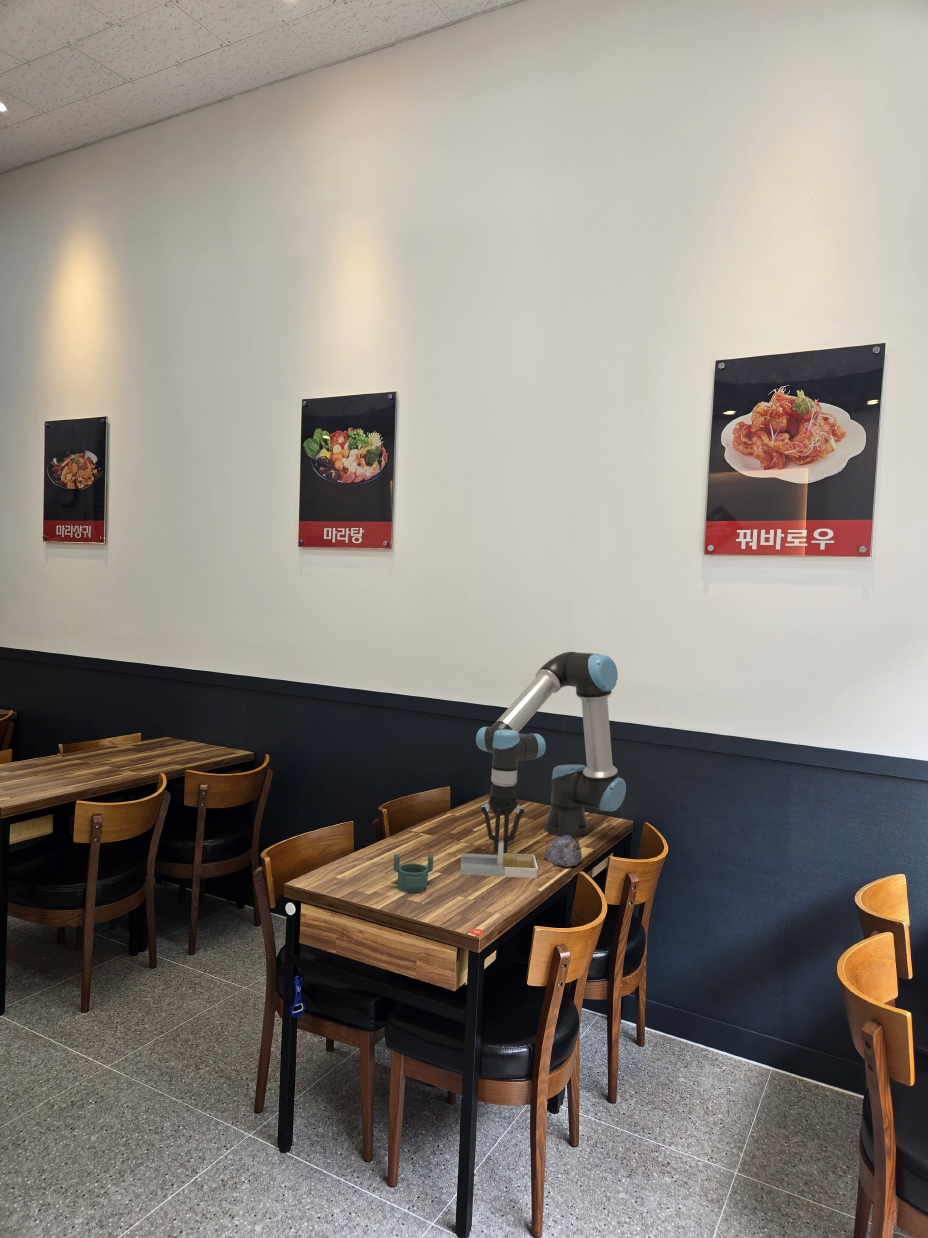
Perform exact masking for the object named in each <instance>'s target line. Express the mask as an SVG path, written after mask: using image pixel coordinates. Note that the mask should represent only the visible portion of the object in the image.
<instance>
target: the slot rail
mask: <svg viewBox="0 0 928 1238" xmlns="http://www.w3.org/2000/svg"><path fill="white" fill-rule="evenodd" d="M497 857H498V854H486V853H485V854H483V853H467V852H465V853H464V852H461V853H460V875H462V876H463V875H468V876H487V877H488V876H489V877H504V874H505V867H504V866H502V865H498V864H497Z"/></svg>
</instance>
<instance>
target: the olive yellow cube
mask: <svg viewBox="0 0 928 1238" xmlns="http://www.w3.org/2000/svg"><path fill="white" fill-rule="evenodd" d="M516 854H517V853H515V852H507V853H503V865H502V866H504V867H515V868H516V865H517V856H516Z"/></svg>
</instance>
